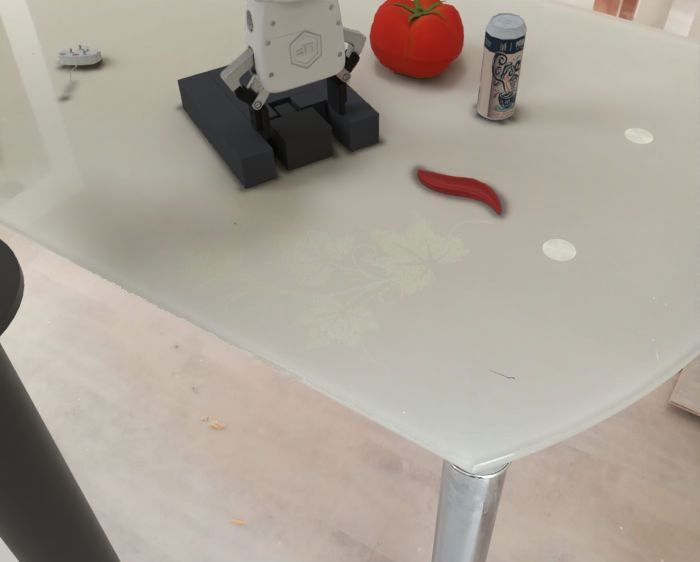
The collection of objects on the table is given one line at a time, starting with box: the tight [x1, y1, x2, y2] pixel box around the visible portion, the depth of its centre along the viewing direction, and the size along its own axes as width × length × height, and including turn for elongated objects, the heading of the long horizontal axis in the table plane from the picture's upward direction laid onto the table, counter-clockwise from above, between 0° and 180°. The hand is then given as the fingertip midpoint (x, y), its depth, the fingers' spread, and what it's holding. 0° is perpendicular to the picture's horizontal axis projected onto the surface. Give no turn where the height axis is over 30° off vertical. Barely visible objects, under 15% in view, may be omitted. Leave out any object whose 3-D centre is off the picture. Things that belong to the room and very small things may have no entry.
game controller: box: [57, 44, 103, 99], centre depth 106 cm, size 6×12×3 cm, turn 16°
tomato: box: [368, 0, 465, 79], centre depth 103 cm, size 14×13×9 cm
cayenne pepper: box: [416, 168, 502, 216], centre depth 88 cm, size 12×5×2 cm, turn 41°
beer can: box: [476, 12, 528, 121], centre depth 94 cm, size 5×5×12 cm
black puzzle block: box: [269, 103, 334, 172], centre depth 93 cm, size 6×7×4 cm
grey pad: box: [177, 64, 380, 189], centre depth 96 cm, size 18×20×4 cm
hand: (300, 121), depth 91 cm, fingers open, 9 cm apart
